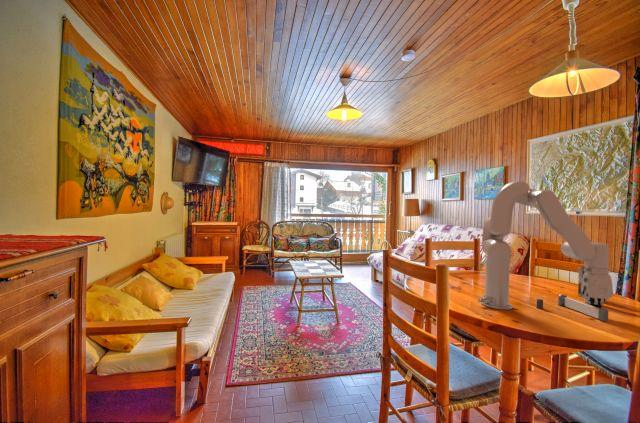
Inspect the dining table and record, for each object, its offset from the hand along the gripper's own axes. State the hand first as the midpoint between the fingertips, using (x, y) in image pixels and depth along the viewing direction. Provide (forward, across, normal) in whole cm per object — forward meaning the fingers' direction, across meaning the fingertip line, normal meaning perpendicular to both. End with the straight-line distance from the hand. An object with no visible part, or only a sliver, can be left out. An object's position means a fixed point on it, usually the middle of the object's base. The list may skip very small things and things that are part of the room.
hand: (595, 312), depth 123 cm
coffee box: (+2, +23, +24) cm, 33 cm away
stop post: (+1, -18, +9) cm, 20 cm away
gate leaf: (+1, -3, +2) cm, 4 cm away
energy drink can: (+2, +15, +16) cm, 22 cm away
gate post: (+1, -3, +13) cm, 13 cm away
